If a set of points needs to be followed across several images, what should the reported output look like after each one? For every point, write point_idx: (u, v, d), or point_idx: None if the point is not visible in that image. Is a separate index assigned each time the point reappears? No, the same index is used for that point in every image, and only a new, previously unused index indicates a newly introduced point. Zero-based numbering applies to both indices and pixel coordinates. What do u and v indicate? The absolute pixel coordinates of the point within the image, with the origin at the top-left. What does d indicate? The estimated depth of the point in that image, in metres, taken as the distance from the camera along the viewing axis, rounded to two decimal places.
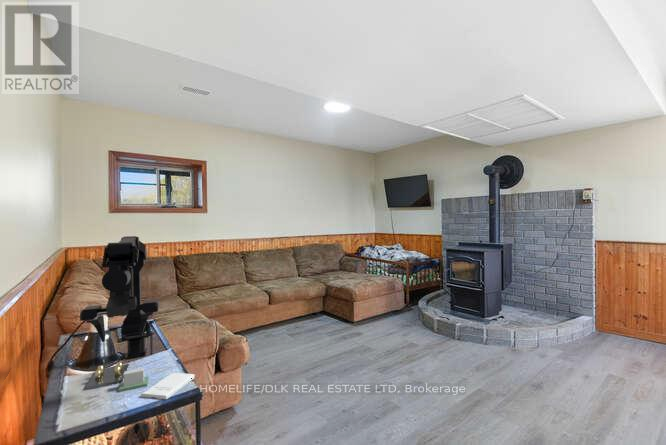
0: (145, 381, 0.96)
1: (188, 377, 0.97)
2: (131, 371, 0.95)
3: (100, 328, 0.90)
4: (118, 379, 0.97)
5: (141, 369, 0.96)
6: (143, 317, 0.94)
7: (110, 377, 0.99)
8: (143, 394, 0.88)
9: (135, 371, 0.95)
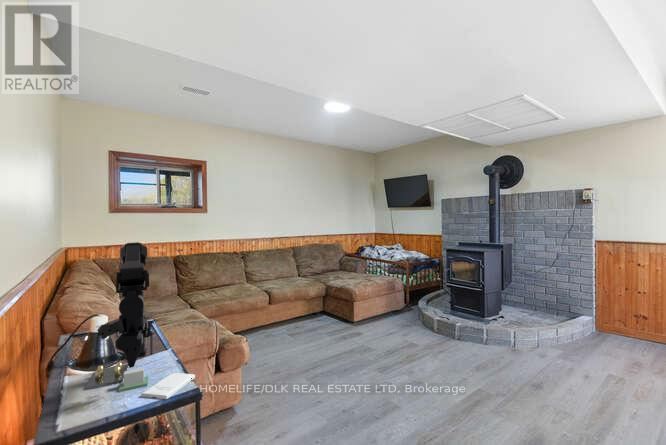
0: (145, 381, 0.96)
1: (188, 377, 0.97)
2: (131, 371, 0.95)
3: None
4: (118, 379, 0.97)
5: (141, 369, 0.96)
6: None
7: (110, 377, 0.99)
8: (143, 393, 0.89)
9: (135, 371, 0.95)
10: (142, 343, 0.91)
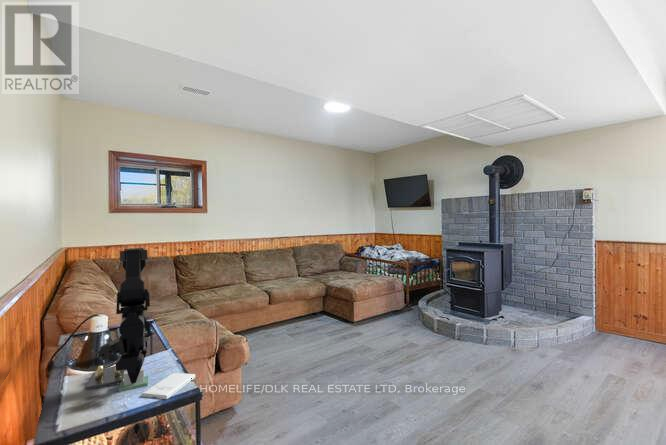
0: (145, 380, 0.96)
1: (189, 377, 0.97)
2: None
3: None
4: (118, 379, 0.97)
5: (141, 368, 0.96)
6: None
7: (110, 377, 0.99)
8: (143, 393, 0.89)
9: None
10: None
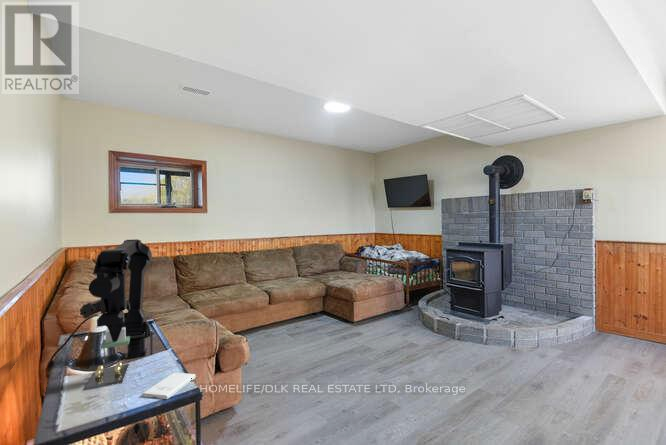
0: (126, 339, 1.00)
1: (189, 377, 0.97)
2: None
3: None
4: (118, 379, 0.97)
5: (122, 328, 1.01)
6: None
7: (110, 377, 0.99)
8: (144, 393, 0.89)
9: None
10: (125, 319, 0.98)
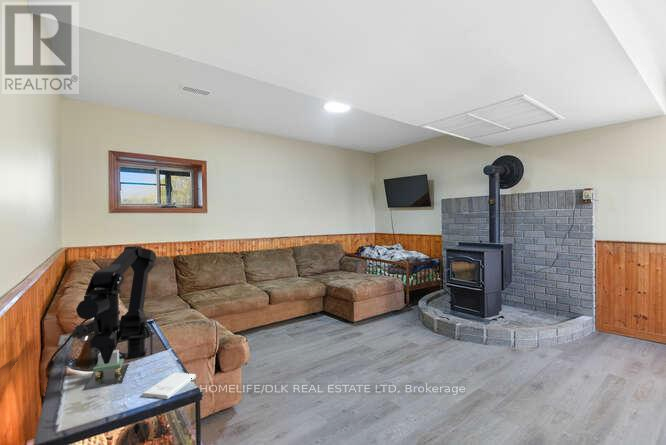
0: (119, 362, 1.02)
1: (189, 377, 0.97)
2: None
3: None
4: (118, 379, 0.97)
5: (115, 351, 1.02)
6: None
7: (110, 377, 0.99)
8: (144, 393, 0.89)
9: None
10: (116, 341, 0.98)
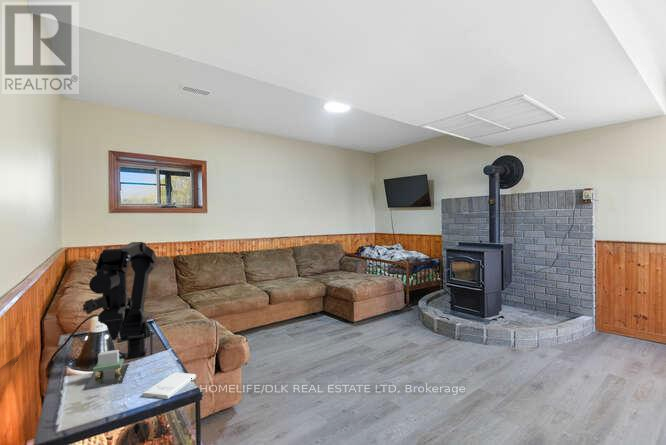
0: (119, 362, 1.02)
1: (189, 377, 0.97)
2: (106, 352, 1.01)
3: None
4: (118, 379, 0.97)
5: (115, 351, 1.02)
6: None
7: (110, 377, 0.99)
8: (144, 393, 0.89)
9: (110, 352, 1.01)
10: (123, 318, 0.99)
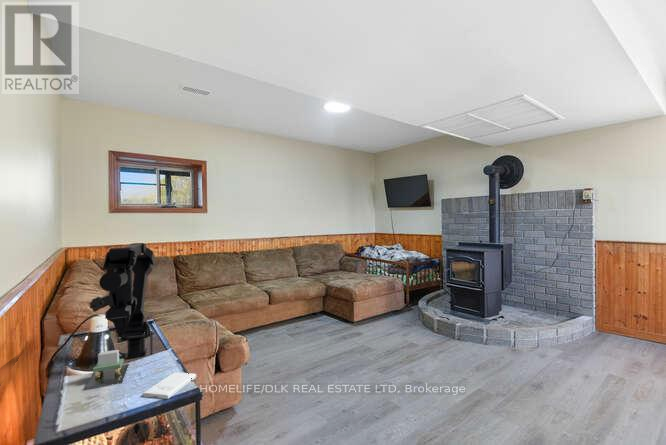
0: (119, 362, 1.02)
1: (189, 377, 0.97)
2: (106, 352, 1.01)
3: None
4: (118, 379, 0.97)
5: (115, 351, 1.02)
6: None
7: (110, 377, 0.99)
8: (144, 393, 0.89)
9: (110, 352, 1.01)
10: (130, 315, 1.01)
